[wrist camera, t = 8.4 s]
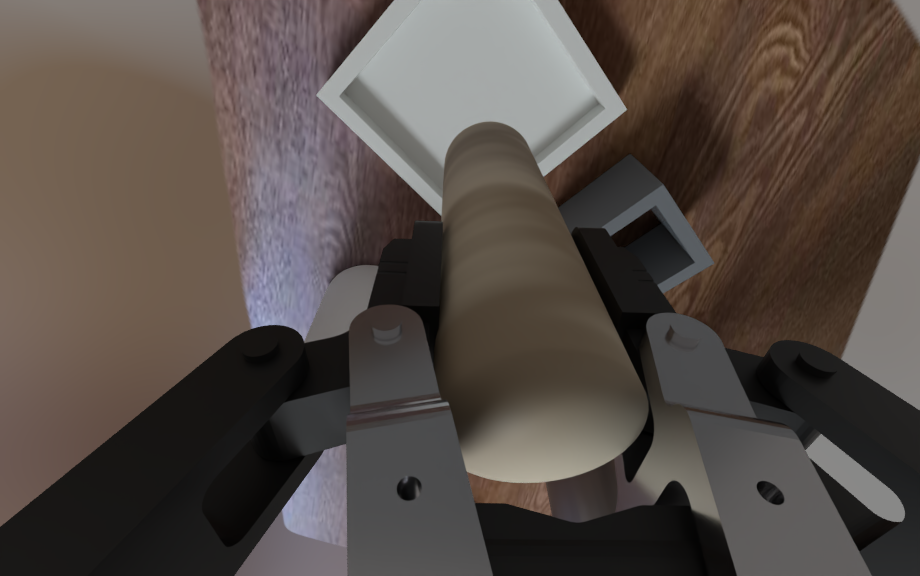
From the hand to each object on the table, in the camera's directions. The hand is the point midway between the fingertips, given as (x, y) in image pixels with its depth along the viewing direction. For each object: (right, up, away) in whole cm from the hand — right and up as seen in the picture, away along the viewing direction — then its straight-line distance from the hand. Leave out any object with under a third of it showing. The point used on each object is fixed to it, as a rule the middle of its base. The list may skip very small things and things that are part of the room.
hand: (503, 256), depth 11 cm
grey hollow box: (+11, +5, +23) cm, 26 cm away
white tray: (0, +12, +17) cm, 21 cm away
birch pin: (0, +4, +5) cm, 7 cm away
